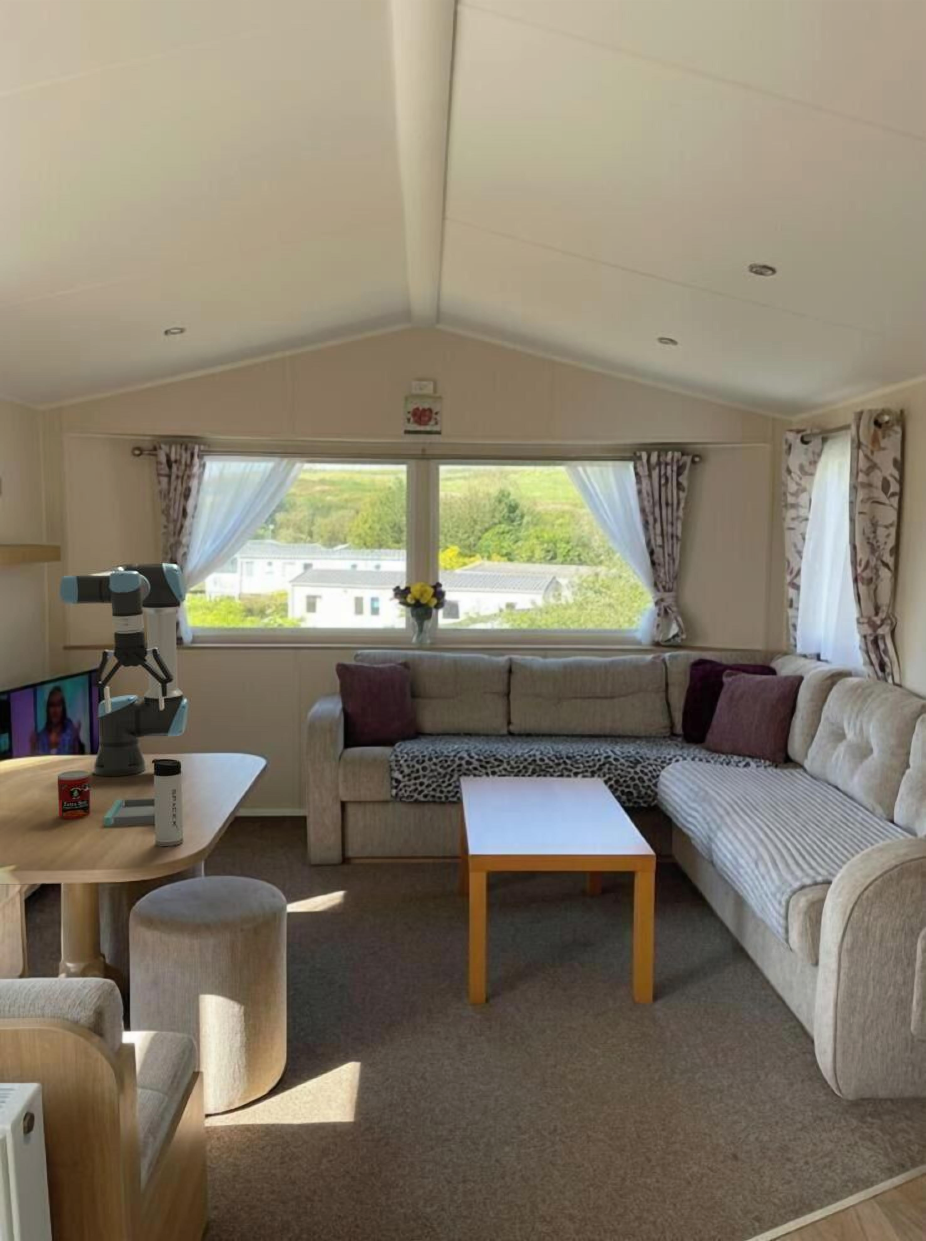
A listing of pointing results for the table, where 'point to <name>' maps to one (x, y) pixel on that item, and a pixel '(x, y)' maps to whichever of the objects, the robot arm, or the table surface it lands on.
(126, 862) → the table surface
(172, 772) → the travel mug
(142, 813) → the tray with upright backboard
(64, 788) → the canned food
